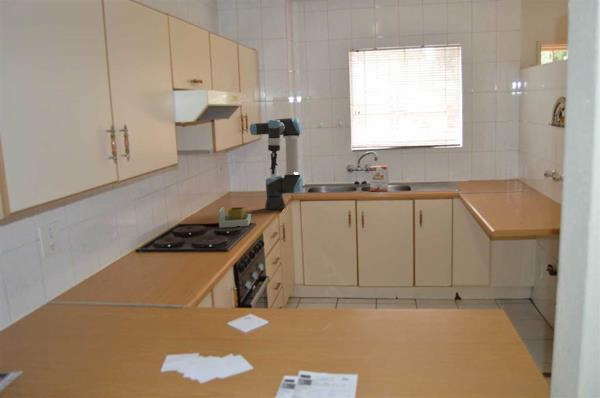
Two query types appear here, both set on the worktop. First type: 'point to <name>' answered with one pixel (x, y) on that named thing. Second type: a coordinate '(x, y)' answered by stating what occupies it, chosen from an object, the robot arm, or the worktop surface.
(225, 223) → the pale green open box
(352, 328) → the worktop surface
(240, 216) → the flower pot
